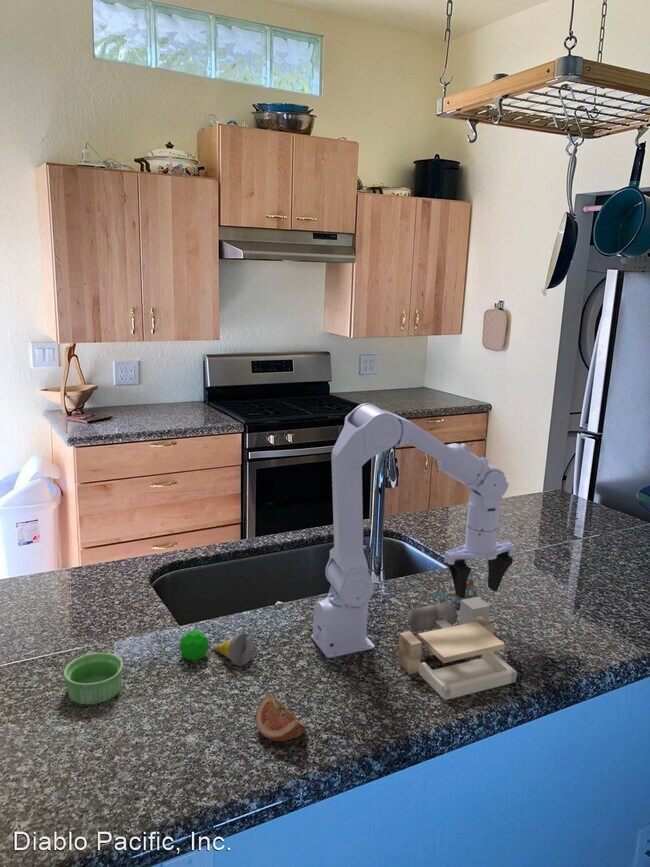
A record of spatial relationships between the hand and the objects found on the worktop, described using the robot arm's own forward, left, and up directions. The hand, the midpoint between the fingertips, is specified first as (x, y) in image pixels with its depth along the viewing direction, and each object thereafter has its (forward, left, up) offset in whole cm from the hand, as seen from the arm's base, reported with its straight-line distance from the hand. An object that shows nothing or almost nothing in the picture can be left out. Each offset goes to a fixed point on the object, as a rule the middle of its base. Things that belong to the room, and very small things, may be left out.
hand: (476, 592), depth 132 cm
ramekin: (-70, +4, -7) cm, 71 cm away
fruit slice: (-46, -17, -7) cm, 50 cm away
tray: (-12, -15, -7) cm, 21 cm away
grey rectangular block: (0, 0, -7) cm, 7 cm away
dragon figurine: (0, +13, -7) cm, 15 cm away
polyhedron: (-53, +8, -7) cm, 54 cm away
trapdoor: (-12, -8, -1) cm, 15 cm away
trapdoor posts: (-12, -8, -7) cm, 16 cm away
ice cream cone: (-44, +1, -4) cm, 44 cm away
